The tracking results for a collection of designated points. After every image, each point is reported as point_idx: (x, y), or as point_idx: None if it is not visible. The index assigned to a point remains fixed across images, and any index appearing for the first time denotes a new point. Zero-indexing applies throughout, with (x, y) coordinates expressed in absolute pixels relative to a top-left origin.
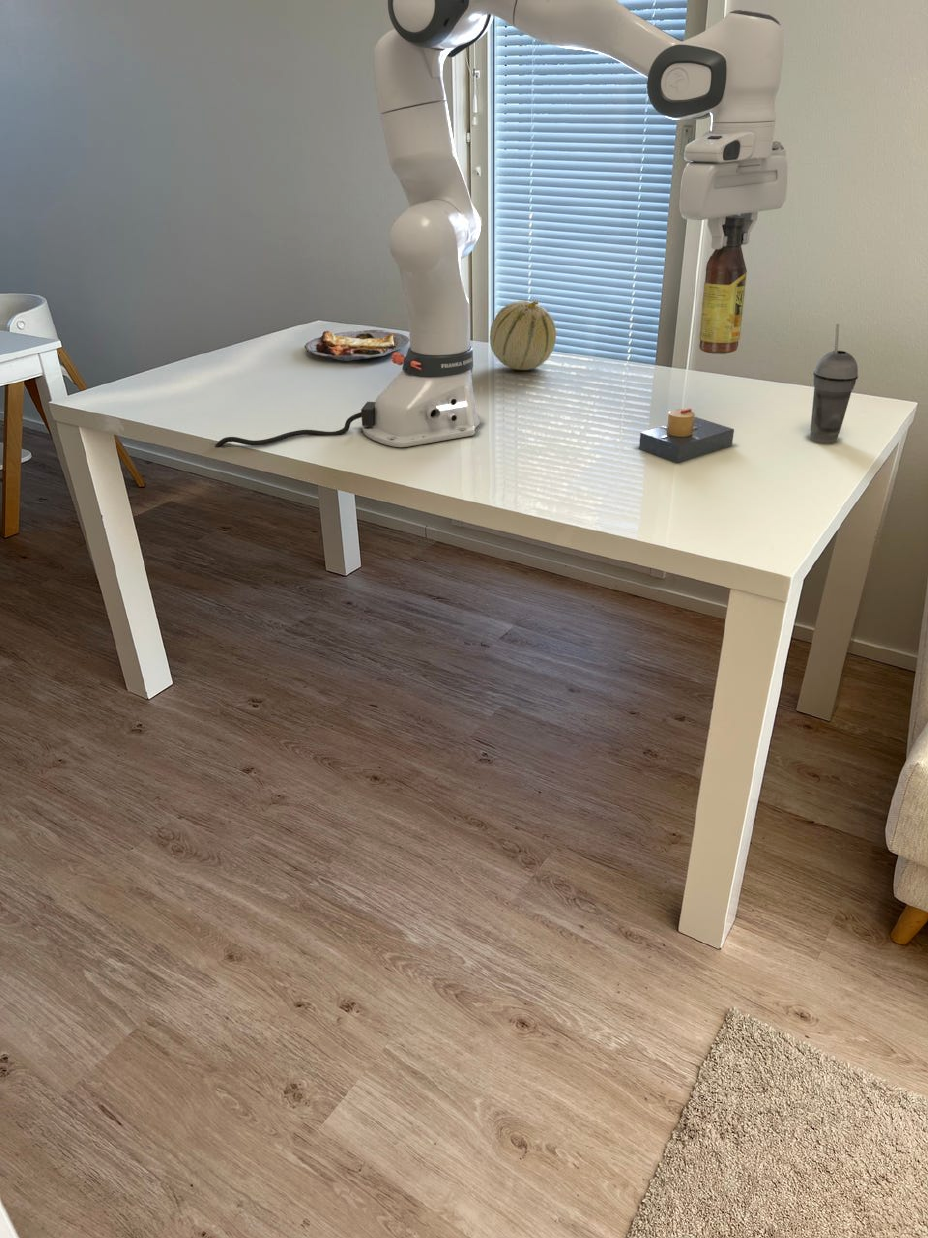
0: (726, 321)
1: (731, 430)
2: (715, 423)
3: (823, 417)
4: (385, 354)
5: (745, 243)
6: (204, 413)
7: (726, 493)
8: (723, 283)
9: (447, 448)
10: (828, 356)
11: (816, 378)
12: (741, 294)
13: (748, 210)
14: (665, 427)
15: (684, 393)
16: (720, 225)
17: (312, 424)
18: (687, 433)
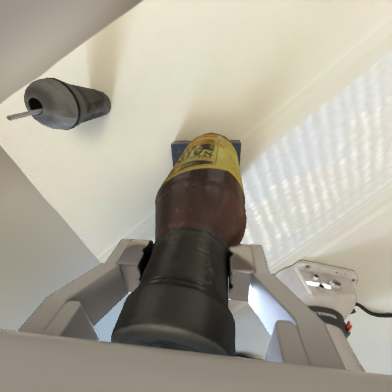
0: (227, 147)
1: (174, 144)
2: (173, 163)
3: (97, 98)
4: (236, 356)
5: (136, 239)
6: (373, 355)
7: (267, 58)
8: (236, 182)
9: (333, 255)
10: (53, 111)
11: (80, 115)
12: (197, 155)
13: (102, 354)
14: None
15: (126, 233)
16: (307, 319)
17: (350, 319)
18: None
